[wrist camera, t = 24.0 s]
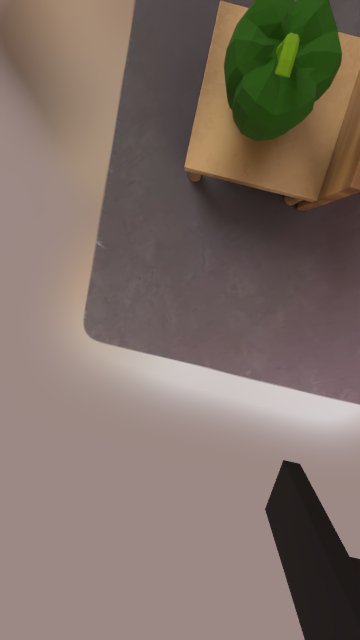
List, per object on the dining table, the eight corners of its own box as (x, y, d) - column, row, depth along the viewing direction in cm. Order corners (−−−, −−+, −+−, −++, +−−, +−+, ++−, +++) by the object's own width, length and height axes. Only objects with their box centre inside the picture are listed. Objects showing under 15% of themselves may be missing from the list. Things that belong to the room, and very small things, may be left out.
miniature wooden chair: (184, 181, 35) (183, 145, 23) (214, 47, 31) (230, -75, 20) (305, 211, 35) (364, 190, 23) (346, 81, 32) (438, -18, 20)
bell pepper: (254, 31, 26) (294, -101, 16) (321, 93, 27) (396, 3, 17) (198, 116, 28) (203, 42, 18) (263, 171, 29) (301, 129, 19)
